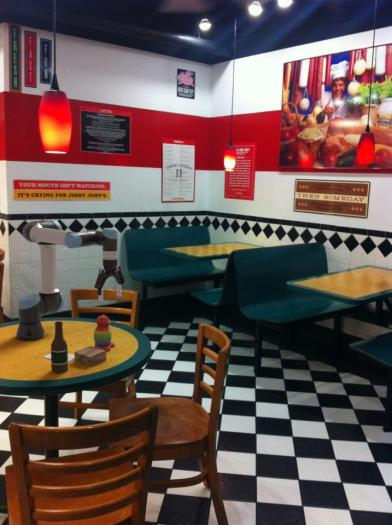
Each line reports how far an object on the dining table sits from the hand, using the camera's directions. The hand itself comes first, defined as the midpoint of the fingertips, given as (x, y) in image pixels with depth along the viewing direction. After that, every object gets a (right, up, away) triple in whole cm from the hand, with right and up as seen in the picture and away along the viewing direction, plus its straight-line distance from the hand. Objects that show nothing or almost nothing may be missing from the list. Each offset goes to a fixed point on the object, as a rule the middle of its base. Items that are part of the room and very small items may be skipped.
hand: (110, 298), depth 264 cm
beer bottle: (-20, -33, -23) cm, 45 cm away
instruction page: (-24, -29, -7) cm, 38 cm away
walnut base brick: (-8, -30, -10) cm, 33 cm away
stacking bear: (-5, -27, +8) cm, 29 cm away
